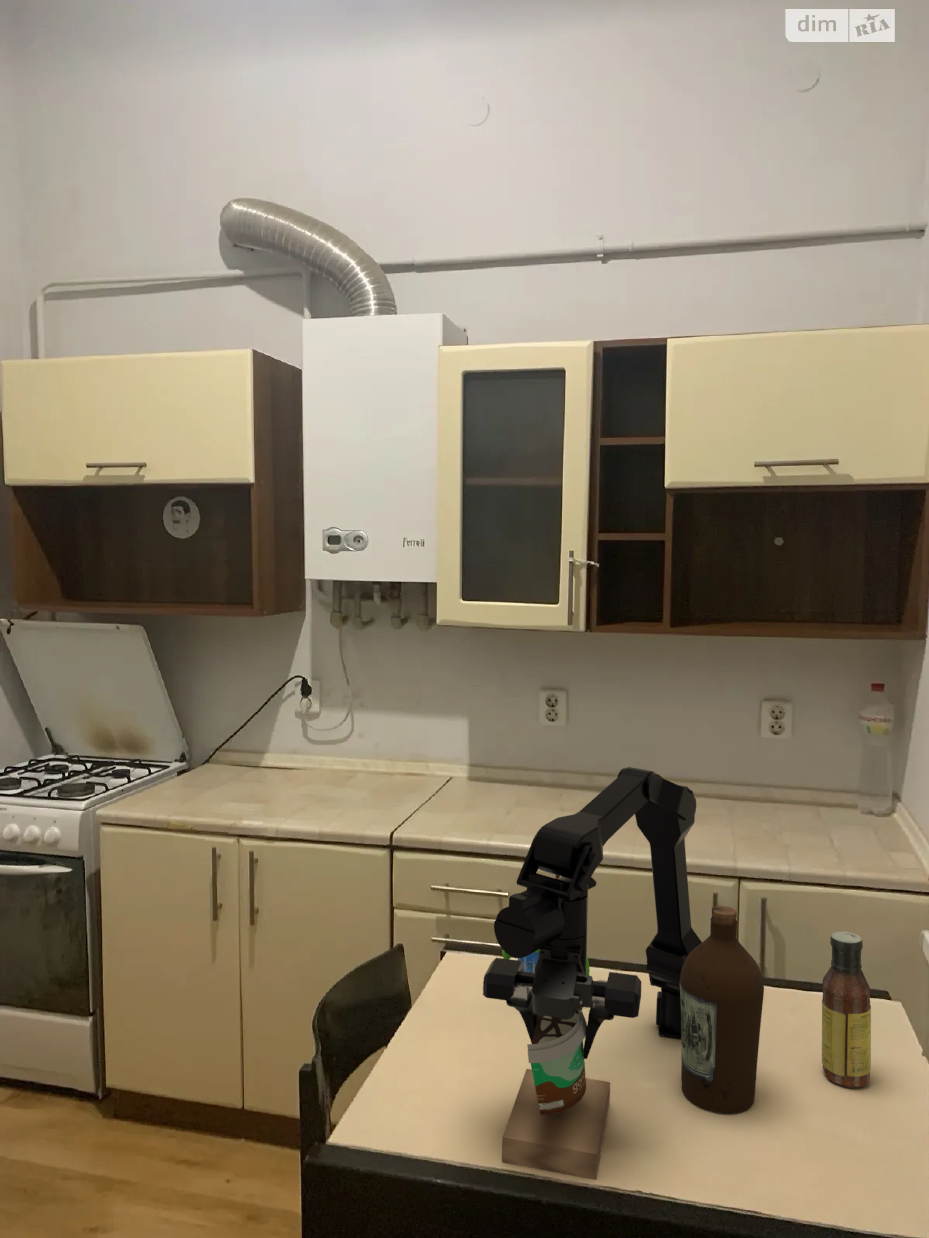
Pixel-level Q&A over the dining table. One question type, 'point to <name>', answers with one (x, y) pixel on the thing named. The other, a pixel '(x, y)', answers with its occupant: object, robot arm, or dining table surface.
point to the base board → (557, 1131)
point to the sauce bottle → (846, 1014)
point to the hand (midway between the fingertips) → (560, 1053)
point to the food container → (558, 1062)
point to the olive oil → (720, 1019)
